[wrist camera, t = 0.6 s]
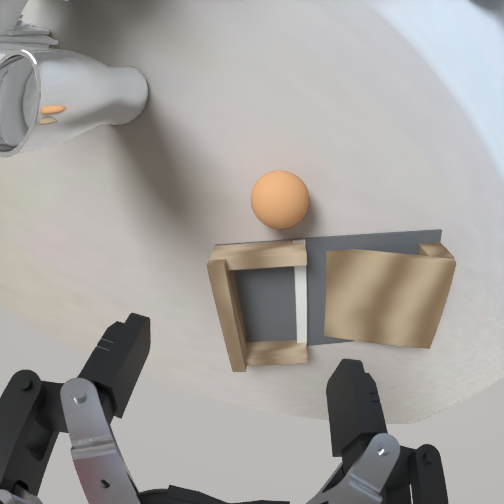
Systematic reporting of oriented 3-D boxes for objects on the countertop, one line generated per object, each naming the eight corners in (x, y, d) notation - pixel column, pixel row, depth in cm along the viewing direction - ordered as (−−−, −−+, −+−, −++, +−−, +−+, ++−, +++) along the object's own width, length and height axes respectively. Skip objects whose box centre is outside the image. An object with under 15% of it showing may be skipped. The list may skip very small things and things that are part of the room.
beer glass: (145, 52, 21) (37, 22, 7) (160, 116, 24) (53, 133, 10) (88, 79, 22) (-26, 84, 8) (101, 138, 25) (-10, 176, 12)
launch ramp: (436, 238, 28) (460, 263, 23) (418, 318, 33) (433, 347, 28) (324, 246, 30) (334, 276, 25) (322, 330, 35) (328, 364, 30)
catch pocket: (303, 239, 28) (307, 258, 25) (305, 345, 35) (307, 369, 32) (214, 246, 29) (206, 265, 26) (236, 348, 36) (232, 371, 33)
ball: (304, 163, 25) (311, 175, 21) (307, 214, 27) (313, 236, 23) (249, 168, 26) (244, 180, 21) (256, 218, 28) (252, 240, 24)
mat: (441, 229, 27) (444, 232, 26) (417, 330, 34) (419, 334, 33) (215, 245, 30) (213, 248, 29) (236, 347, 36) (235, 352, 36)
